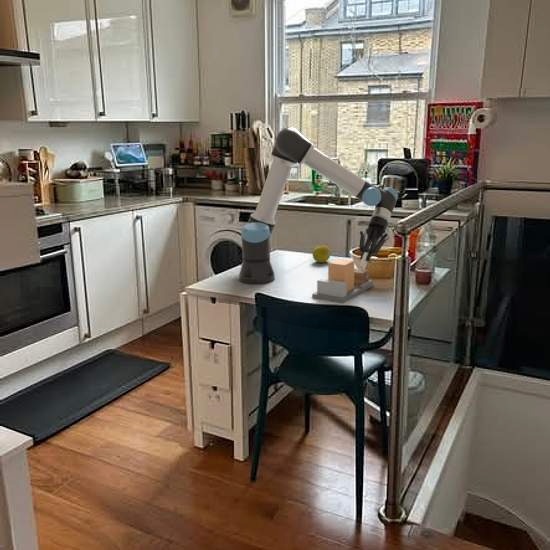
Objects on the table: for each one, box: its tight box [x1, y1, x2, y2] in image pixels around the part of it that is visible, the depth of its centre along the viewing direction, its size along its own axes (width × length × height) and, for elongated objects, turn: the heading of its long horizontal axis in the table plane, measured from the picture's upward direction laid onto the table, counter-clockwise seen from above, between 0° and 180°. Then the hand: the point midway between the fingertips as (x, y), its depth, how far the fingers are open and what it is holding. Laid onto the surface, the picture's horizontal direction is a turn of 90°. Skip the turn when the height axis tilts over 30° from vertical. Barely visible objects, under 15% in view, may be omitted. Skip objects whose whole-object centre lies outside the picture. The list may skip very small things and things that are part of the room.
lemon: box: [312, 245, 332, 264], centre depth 260 cm, size 11×8×8 cm
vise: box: [311, 278, 374, 304], centre depth 215 cm, size 26×13×6 cm, turn 145°
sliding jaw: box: [354, 267, 369, 285], centre depth 222 cm, size 5×10×5 cm, turn 55°
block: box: [327, 258, 355, 291], centre depth 213 cm, size 8×7×11 cm
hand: (362, 267), depth 226 cm, fingers closed
